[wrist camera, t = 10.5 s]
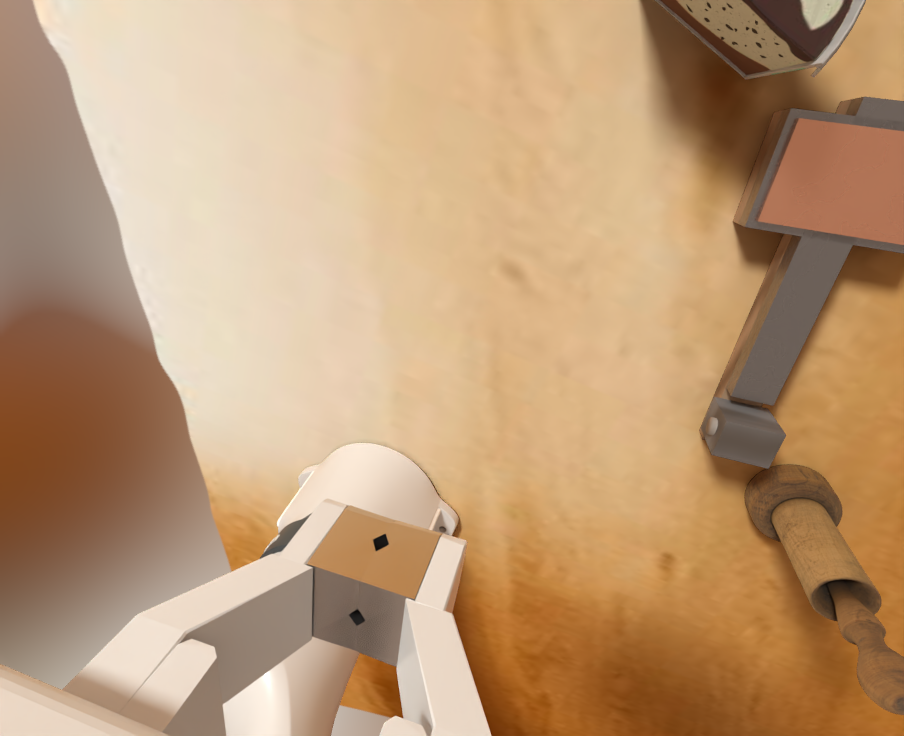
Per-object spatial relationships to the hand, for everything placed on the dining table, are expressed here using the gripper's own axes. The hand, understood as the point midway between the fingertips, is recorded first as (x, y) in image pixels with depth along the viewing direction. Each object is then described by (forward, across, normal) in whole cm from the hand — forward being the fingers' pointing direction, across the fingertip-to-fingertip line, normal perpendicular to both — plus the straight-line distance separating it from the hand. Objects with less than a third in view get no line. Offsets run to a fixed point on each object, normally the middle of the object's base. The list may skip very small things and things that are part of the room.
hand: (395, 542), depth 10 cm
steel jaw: (+31, +18, +3) cm, 36 cm away
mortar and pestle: (+33, +25, -17) cm, 45 cm away
